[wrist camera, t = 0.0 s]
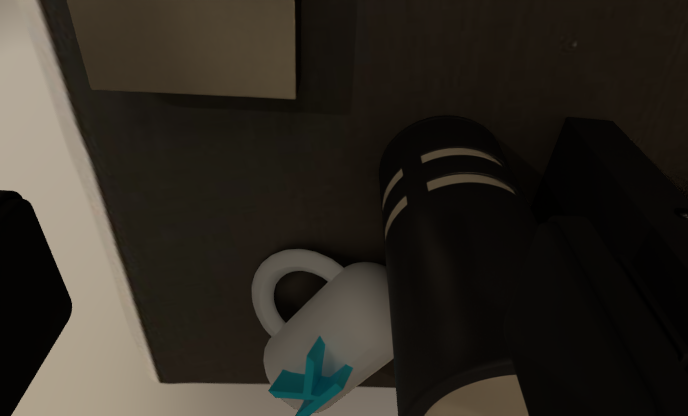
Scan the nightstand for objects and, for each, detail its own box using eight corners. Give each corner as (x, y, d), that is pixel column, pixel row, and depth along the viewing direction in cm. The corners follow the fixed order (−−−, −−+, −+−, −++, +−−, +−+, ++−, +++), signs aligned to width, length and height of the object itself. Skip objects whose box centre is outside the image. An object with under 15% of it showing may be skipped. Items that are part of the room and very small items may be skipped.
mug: (421, 373, 29) (307, 453, 35) (444, 295, 37) (349, 371, 43) (276, 237, 29) (186, 340, 35) (331, 188, 37) (250, 278, 43)
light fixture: (390, 96, 29) (426, 335, 15) (613, 116, 30) (857, 366, 15) (370, 223, 35) (382, 484, 21) (557, 238, 36) (696, 502, 21)
